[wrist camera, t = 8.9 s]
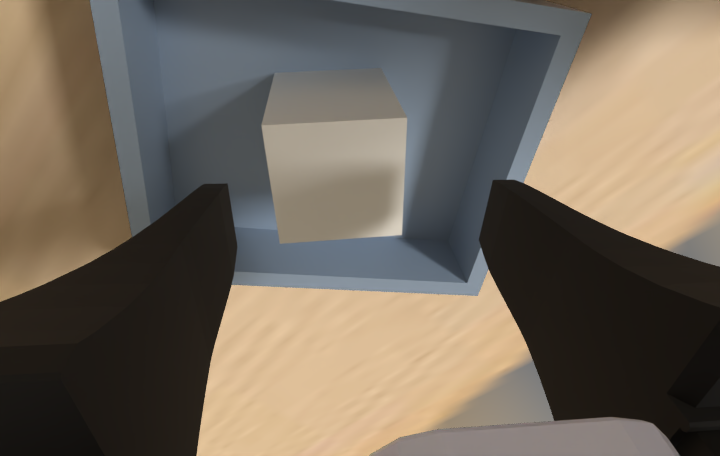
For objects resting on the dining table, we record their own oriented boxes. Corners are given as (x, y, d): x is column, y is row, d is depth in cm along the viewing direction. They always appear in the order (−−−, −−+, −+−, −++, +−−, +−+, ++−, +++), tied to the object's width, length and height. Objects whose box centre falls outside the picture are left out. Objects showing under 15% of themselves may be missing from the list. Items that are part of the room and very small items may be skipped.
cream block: (381, 68, 18) (407, 117, 13) (380, 163, 21) (401, 234, 16) (274, 72, 18) (261, 125, 13) (287, 169, 21) (279, 243, 16)
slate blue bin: (539, -2, 18) (591, 13, 15) (455, 248, 25) (477, 295, 22) (127, -71, 15) (76, -72, 12) (164, 229, 22) (139, 280, 19)
